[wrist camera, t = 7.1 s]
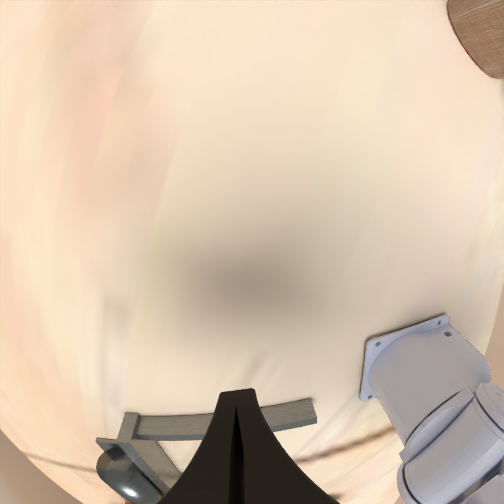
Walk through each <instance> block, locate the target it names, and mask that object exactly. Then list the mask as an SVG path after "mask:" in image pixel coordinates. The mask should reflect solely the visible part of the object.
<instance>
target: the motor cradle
mask: <svg viewBox="0 0 504 504" xmlns="http://www.w3.org/2000/svg"><path fill="white" fill-rule="evenodd" d="M260 409H261V411H262V414H263V416H264V418H265V420H266V421H267V423H268V425H269V427H270V429H271V430H272V432H276V431H282V430H287V429H293V428H297V427H302V426H307V425H311V424H315V423H317V416H316V413H315V410H314V407H313V404H312V401H311V398H309V399H305V400H300V401H296V402H291V403H285V404H280V405H274V406H269V407H262V408H260ZM212 417H213V414H201V415H185V416H140V415H139V414H138V413H125V416H124V419H123V422H122V425H121V428H120V431H119V435H118V438H117V440H112V439H103V438H96V442H97V444H98V445H99V446H100V447H101V448H102V449H103V450H104V453H103V454H102V455H101V456H100V457H99V459H98V461H97V466H96V469H97V473H98V475H99V477H100V478H101V479H102V480H103V481H104V482H105V483H106V484H107V485H109V486H110V487H111V488H112V489H113V490H114V491H116V492H117V493H118V494H119V495H121V496H122V497H123V498H124V499H126V500H127V501H128V502H130V503H131V504H157V503H158V502H159V501H160V499H161V498H162V497H163V496H164V495H165V494H166V493H167V492H168V491H169V490H170V489H171V488H172V486H173V485H174V484H175V483H176V481H177V480H178V479H179V477H180V476H181V475H182V474H181V473H180V472H179V470H178V469H177V468H176V466H175V465H174V464H173V463H172V461H171V460H170V459H169V457H168V456H167V455H166V453H165V452H164V451H163V449H162V448H161V447H160V445H159V444H158V442H157V441H183V440H203V438H204V436H205V434H206V431H207V429H208V427H209V424H210V422H211V419H212ZM156 440H157V441H156Z"/></svg>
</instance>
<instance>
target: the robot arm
mask: <svg viewBox="0 0 504 504" xmlns="http://www.w3.org/2000/svg"><path fill="white" fill-rule="evenodd" d="M449 320H450V316H449V315H448V314H444V315H442V316H439V317H436V318H434V319H431V320H428V321H426V322H423V323H420V324H417V325H414V326H411V327H408V328H405V329H402V330H399V331H396V332H393V333H390V334H386V335H383V336H380V337H377V338H373V339H370V340H369V341H368V342H367V344H366V352H365V361H364V370H363V378H362V385H361V392H360V400H361V401H367V400H370V399H373V398H376V397H377V398H378V400H379V401H380V403H381V405H382V407H383V409H384V410H385V412H386V414H387V416H388V417H389V419H390V421H391V423H392V425H393V426H394V428H395V430H396V432H397V434H398V435H399V437H400V439H401V441H402V443H403V445H404V446H405V448H404V449H403V450H402V451H401V452H400V453H399V455H400V457H401V459H402V461H403V463H402V464H401V465H400V467H399V469H398V472H397V485H398V490H399V493H400V495H401V497H402V499H403V500H404V501H405V503H406V504H504V390H503V389H502V388H501V387H499V386H498V385H496V384H494V383H491V382H490V381H491V375H490V369H489V366H488V364H487V361H486V359H485V358H484V356H483V355H482V354H481V353H480V352H479V351H478V350H477V349H476V348H475V347H474V346H473V345H472V344H471V343H470V342H469V341H468V340H466V339H465V338H464V337H463V336H462V335H461V334H460V333H459V332H457V331H456V330H455V329H454V328H453V327H452V326H451V325H450V324H449ZM377 342H378V343H377ZM376 343H377V344H376ZM157 504H340V503H338V502H337V501H335V500H334V499H333V498H332V497H330V496H329V495H328V494H327V493H325V492H324V491H323V490H322V489H321V488H319V487H318V486H317V485H316V484H315V483H314V482H313V481H312V480H311V479H310V478H309V477H308V476H307V475H306V474H305V473H304V472H303V471H302V470H301V469H300V468H299V467H298V466H297V465H296V463H295V462H294V461H293V460H292V459H291V457H290V456H289V455H288V454H287V452H286V451H285V450H284V448H283V447H282V446H281V444H280V443H279V441H278V440H277V438H276V437H275V435H274V434H273V432H272V430H271V429H270V427H269V425H268V423H267V421H266V420H265V418H264V416H263V414H262V411H261V409H260V407H259V404H258V401H257V397H256V393H255V390H254V389H252V388H249V389H242V390H235V391H227V392H221V393H220V394H219V398H218V402H217V405H216V408H215V411H214V414H213V417H212V419H211V422H210V424H209V427H208V429H207V431H206V434H205V436H204V438H203V440H202V442H201V444H200V446H199V448H198V450H197V451H196V453H195V455H194V457H193V458H192V460H191V462H190V463H189V465H188V466H187V468H186V469H185V471H184V472H183V473H182V475H181V476H180V477H179V479H178V480H177V481H176V483H175V484H174V485H173V486H172V488H171V489H170V490H169V491H168V492H167V493H166V494H165V495H164V496H163V497H162V498H161V499H160V501H159V502H158V503H157Z"/></svg>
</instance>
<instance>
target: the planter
mask: <svg viewBox="0 0 504 504" xmlns="http://www.w3.org/2000/svg"><path fill="white" fill-rule="evenodd" d="M448 12H449V16H450V19H451V22H452V25H453V28H454V30H455V32H456V34H457V36H458V38H459V39H460V41H461V43H462V44H463V46H464V47H465V49H466V50H467V52H468V53H469V55H470V56H471V57H472V59H473V60H474V61H475V62H476V63H477V64H478V65H479V67H480V68H481V69H482V70H484V71H485V72H486V73H487V74H489V75H490V76H492V77H494V78H498V79H499V78H504V0H449V1H448Z"/></svg>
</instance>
